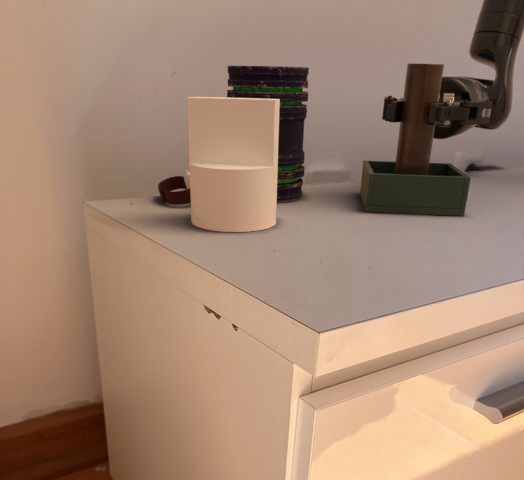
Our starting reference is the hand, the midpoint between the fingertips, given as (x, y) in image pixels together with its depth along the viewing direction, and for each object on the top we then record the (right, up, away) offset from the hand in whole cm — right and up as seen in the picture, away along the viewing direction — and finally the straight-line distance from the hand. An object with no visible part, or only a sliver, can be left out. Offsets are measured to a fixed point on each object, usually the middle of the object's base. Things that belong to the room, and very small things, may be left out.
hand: (412, 113), depth 64 cm
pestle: (+1, -5, +5) cm, 8 cm away
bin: (+1, -8, +7) cm, 11 cm away
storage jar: (-17, -7, +10) cm, 20 cm away
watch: (-27, -9, +5) cm, 29 cm away
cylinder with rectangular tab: (-20, -13, -3) cm, 24 cm away
